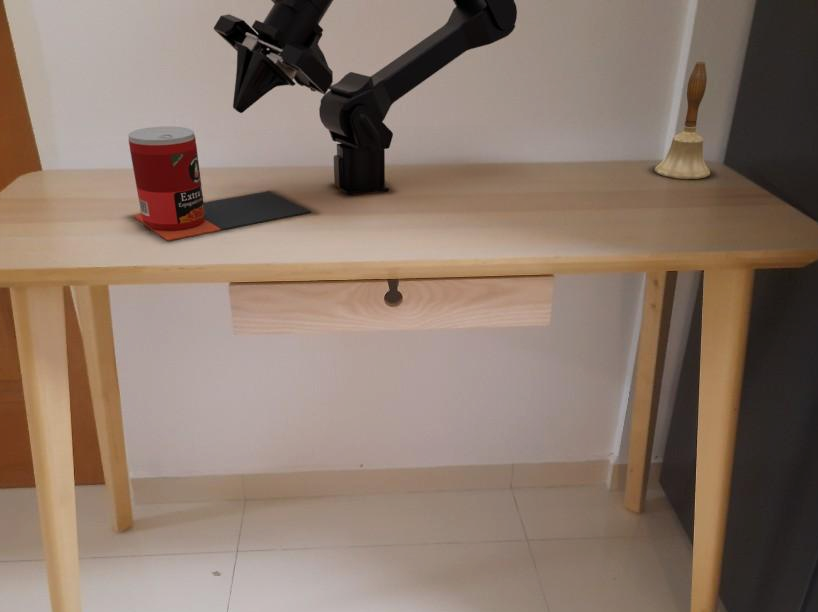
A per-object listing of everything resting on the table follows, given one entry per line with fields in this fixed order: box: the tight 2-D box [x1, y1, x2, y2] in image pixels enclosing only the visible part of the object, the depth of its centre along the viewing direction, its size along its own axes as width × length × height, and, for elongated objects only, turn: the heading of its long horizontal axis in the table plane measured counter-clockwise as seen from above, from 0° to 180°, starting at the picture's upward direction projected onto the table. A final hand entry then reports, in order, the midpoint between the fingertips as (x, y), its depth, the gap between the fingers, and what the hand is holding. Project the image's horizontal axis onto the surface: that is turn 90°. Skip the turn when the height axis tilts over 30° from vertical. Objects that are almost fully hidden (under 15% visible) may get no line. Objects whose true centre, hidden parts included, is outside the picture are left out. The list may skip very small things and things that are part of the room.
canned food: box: [127, 126, 205, 230], centre depth 96 cm, size 8×8×11 cm
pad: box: [132, 213, 222, 242], centre depth 99 cm, size 7×12×1 cm, turn 36°
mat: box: [204, 190, 312, 231], centre depth 104 cm, size 13×12×1 cm
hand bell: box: [654, 61, 711, 180], centre depth 117 cm, size 8×8×16 cm
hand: (236, 110), depth 99 cm, fingers closed
